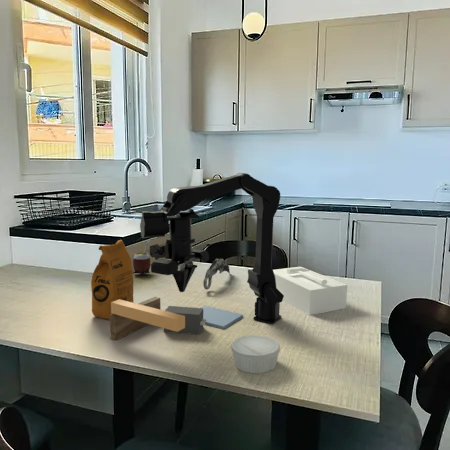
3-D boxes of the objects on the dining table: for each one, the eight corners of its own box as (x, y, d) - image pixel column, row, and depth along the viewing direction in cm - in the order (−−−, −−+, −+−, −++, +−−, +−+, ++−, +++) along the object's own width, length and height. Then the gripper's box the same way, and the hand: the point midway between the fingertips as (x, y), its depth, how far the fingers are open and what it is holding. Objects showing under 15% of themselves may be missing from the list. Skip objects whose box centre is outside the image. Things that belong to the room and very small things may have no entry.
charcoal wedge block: (207, 329, 121) (207, 308, 120) (203, 336, 116) (203, 315, 115) (169, 325, 123) (169, 305, 122) (163, 332, 118) (163, 311, 117)
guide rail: (160, 318, 128) (160, 297, 127) (115, 340, 112) (115, 316, 111) (155, 317, 129) (155, 296, 128) (110, 338, 114) (109, 314, 113)
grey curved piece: (228, 274, 178) (228, 250, 177) (231, 274, 178) (232, 250, 176) (202, 294, 152) (203, 266, 150) (206, 294, 151) (207, 267, 150)
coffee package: (86, 316, 128) (83, 245, 125) (112, 304, 140) (111, 237, 136) (113, 322, 125) (111, 248, 121) (138, 308, 136) (137, 240, 132)
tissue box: (299, 289, 160) (300, 260, 158) (345, 310, 137) (347, 277, 136) (266, 293, 153) (267, 264, 152) (309, 317, 131) (310, 283, 130)
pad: (242, 317, 129) (242, 314, 129) (223, 329, 120) (223, 326, 120) (204, 308, 137) (204, 305, 137) (183, 319, 127) (183, 316, 127)
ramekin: (223, 372, 97) (224, 350, 96) (239, 351, 107) (240, 331, 106) (272, 381, 93) (272, 359, 92) (283, 359, 103) (284, 338, 102)
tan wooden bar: (185, 327, 104) (185, 315, 104) (177, 331, 102) (177, 319, 101) (119, 309, 115) (119, 299, 115) (111, 313, 113) (110, 302, 112)
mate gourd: (134, 270, 180) (133, 235, 178) (153, 270, 181) (152, 235, 179) (132, 275, 173) (131, 239, 171) (152, 275, 174) (151, 239, 172)
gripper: (177, 227, 126) (178, 278, 128) (133, 238, 110) (135, 296, 113) (209, 230, 120) (210, 284, 123) (167, 242, 104) (169, 304, 107)
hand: (181, 291), depth 116 cm, fingers closed
